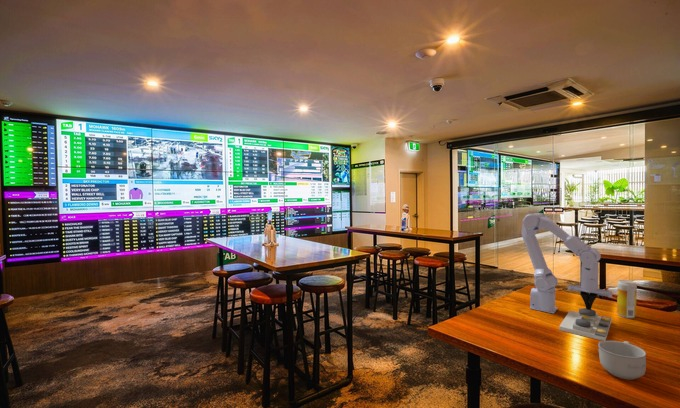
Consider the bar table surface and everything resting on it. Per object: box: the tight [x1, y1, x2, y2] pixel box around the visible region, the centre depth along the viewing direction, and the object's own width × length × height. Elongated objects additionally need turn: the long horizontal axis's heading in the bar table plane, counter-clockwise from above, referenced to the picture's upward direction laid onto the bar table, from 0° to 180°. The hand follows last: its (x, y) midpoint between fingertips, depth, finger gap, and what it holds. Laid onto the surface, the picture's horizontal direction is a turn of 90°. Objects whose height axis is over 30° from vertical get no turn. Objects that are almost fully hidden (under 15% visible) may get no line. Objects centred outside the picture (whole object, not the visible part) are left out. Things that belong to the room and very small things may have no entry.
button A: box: [576, 319, 591, 327], centre depth 125 cm, size 5×5×3 cm
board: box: [558, 310, 612, 342], centre depth 130 cm, size 14×22×3 cm, turn 136°
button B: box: [578, 308, 593, 319], centre depth 130 cm, size 5×5×3 cm
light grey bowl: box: [597, 340, 647, 381], centre depth 98 cm, size 14×11×8 cm
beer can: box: [616, 279, 638, 319], centre depth 139 cm, size 6×6×15 cm
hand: (588, 310), depth 135 cm, fingers closed
